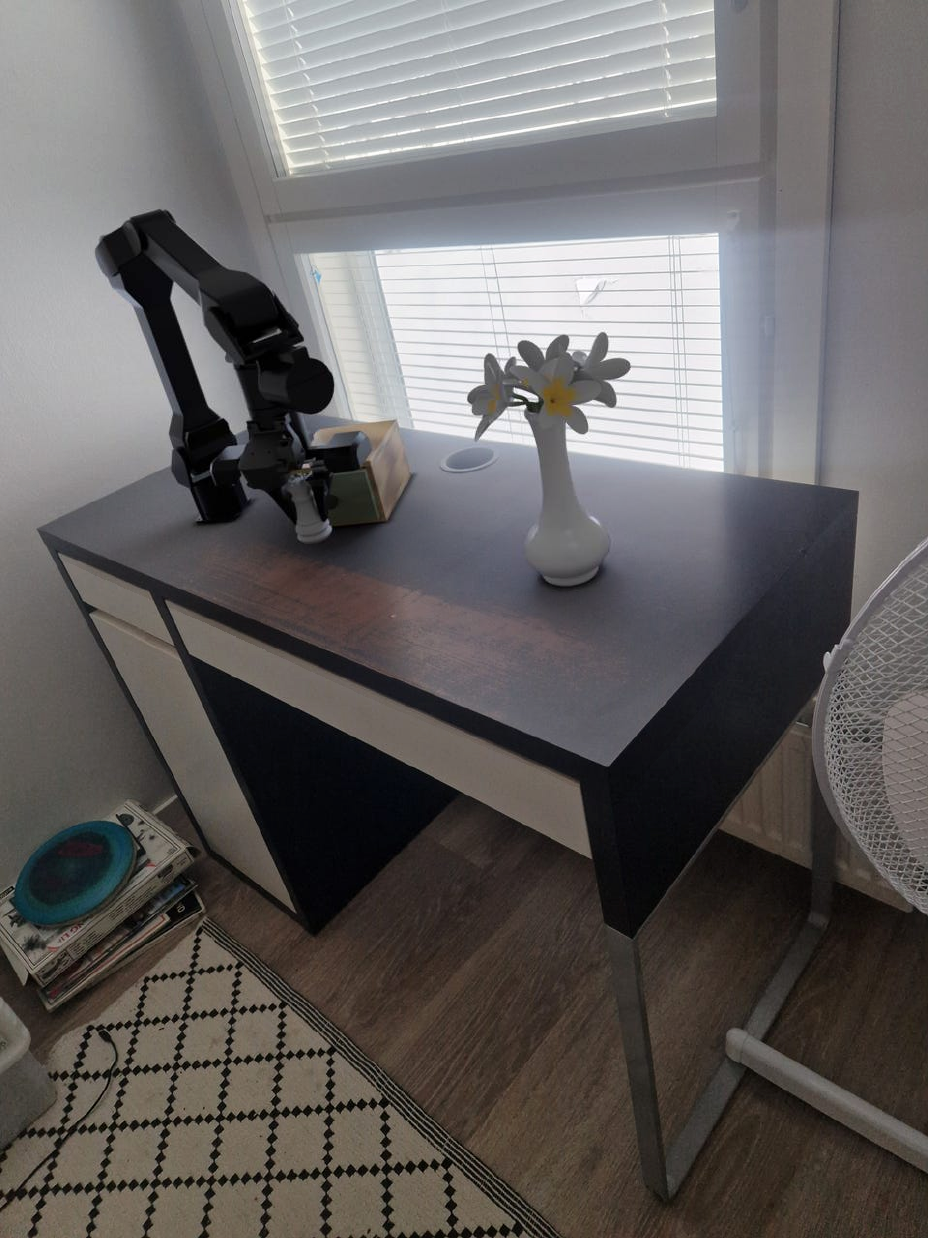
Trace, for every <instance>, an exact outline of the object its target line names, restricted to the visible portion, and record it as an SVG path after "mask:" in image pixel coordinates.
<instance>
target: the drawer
mask: <svg viewBox="0 0 928 1238" xmlns="http://www.w3.org/2000/svg"><path fill="white" fill-rule="evenodd" d="M306 475H307V476H308V475H309V473H306ZM302 477H303V474H302ZM295 478H298V476H295ZM290 481H291V478H290ZM310 489H311V491H312V487H310ZM312 492H313V491H312ZM313 498H314V495H313ZM314 501H315V498H314ZM315 503H316V502H315ZM380 516H381V515H380V512H379V508H378V505H377V501H376V497H375V494H374V490H373V487H372V483H371V480H370V476H369V472H368V469H367V468H366V467H361V468H360V469H358V470H356V471H351V472H342V473H334V474H333V478H332V483H331V491H330V501H329V511H328V520H329V525H330V524H340V523H351V522H361V521H372V520H379V518H380Z"/></svg>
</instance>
